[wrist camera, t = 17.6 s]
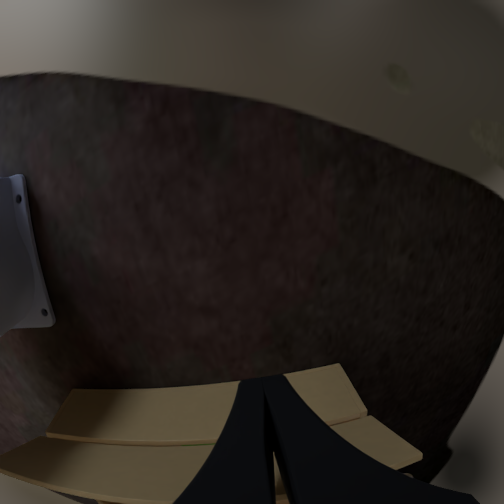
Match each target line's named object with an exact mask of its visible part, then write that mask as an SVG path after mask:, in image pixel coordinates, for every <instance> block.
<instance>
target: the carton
mask: <svg viewBox="0 0 504 504" xmlns="http://www.w3.org/2000/svg"><path fill="white" fill-rule="evenodd" d="M283 375H284V376H286V378H287V379H288V381H289V382H290V384H291V385H292V387H293V388H294V389H295V391H296V392H297V393H298V394H299V396H300V397H301V398H302V399H303V400H304V402H305V403H306V404H307V405H308V406H309V407H310V408H311V409H312V410H313V411H314V412H315V413H316V414H317V415H318V416H319V417H320V418H321V419H322V420H323V421H324V422H325V423H326V424H327V425H328V426H333V425H337V424H341V423H345V422H349V421H353V420H356V419H360V418H363V417H367V409H366V407H365V405H364V404H363V402H362V400H361V399H360V397H359V395H358V394H357V392H356V390H355V389H354V387H353V385H352V383H351V382H350V380H349V378H348V377H347V375H346V373H345V372H344V370H343V368H342V367H341V365H340V363H337V364H333V365H328V366H324V367H319V368H314V369H309V370H304V371H299V372H293V373H288V374H283ZM239 382H240V381H234V382H226V383H217V384H208V385H197V386H185V387H170V388H151V389H72V390H71V392H70V393H69V395H68V396H67V398H66V399H65V401H64V403H63V404H62V406H61V407H60V409H59V410H58V412H57V413H56V415H55V417H54V418H53V420H52V421H51V423H50V425H49V426H48V428H47V429H46V431H45V433H46V434H47V436H48V437H50V438H56V439H63V440H70V441H77V442H86V443H95V444H107V445H122V446H151V447H169V446H181V445H196V444H212V443H216V442H217V440H218V438H219V436H220V434H221V432H222V430H223V428H224V426H225V423H226V421H227V418H228V416H229V414H230V411H231V409H232V406H233V403H234V400H235V397H236V393H237V389H238V383H239ZM95 500H96V501H97V502H98V503H99V504H124V503H116V502H109V501H103V500H97V499H95ZM276 504H289V501H288V499H287V500H280V501H276Z"/></svg>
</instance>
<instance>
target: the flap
mask: <svg viewBox="0 0 504 504" xmlns="http://www.w3.org/2000/svg"><path fill="white" fill-rule="evenodd" d="M329 427H331V428H332V429H333V430H334V431H335V432H336V433H338V434H339V435H340V436H341V437H343V438H344V439H345V440H347V441H348V442H349V443H351V444H352V445H353V446H355V447H356V448H358V449H359V450H361V451H362V452H364V453H365V454H367V455H369V456H370V457H372V458H374V459H375V460H377V461H379V462H380V463H382V464H384V465H386V466H388V467H390V468H393V469H395V470H397V469H400V468H402V467H405V466H407V465H410V464H412V463H415V462H417V461H419V460H422V455H423V454H422V452H420V451H419V450H417V449H416V448H415V447H413V446H412V445H410V444H409V443H408V442H406V441H405V440H404V439H402V438H401V437H399V436H398V435H397V434H395V433H394V432H393V431H391V430H390V429H389V428H387V427H386V426H385V425H383V424H382V423H381V422H379V421H378V420H377V419H375V418H374V417H373V416H371V415H370V416H367V417H363V418H360V419H356V420H353V421H349V422H345V423H341V424H337V425H333V426H329ZM214 445H215V444H214ZM214 445H199V446H169V447H151V446H122V445H107V444H95V443H86V442H77V441H70V440H63V439H56V438H50V437H45V436H39V437H37V438H35V439H33V440H31V441H29V442H27V443H25V444H23V445H21V446H19V447H17V448H15V449H13V450H11V451H8V452H6V453H4V454H2V455H0V473H3V474H5V475H8V476H10V477H13V478H16V479H19V480H22V481H25V482H28V483H31V484H34V485H38V486H41V487H44V488H48V489H51V490H55V491H59V492H63V493H67V494H72V495H76V496H81V497H86V498H91V499H97V500H103V501H109V502H116V503H124V504H172V503H173V502H174V501H175V500H176V499H177V498H178V497H179V496H180V494H181V493H182V492H183V491H184V490H185V488H186V487H187V486H188V485H189V483H190V482H191V481H192V480H193V478H194V477H195V476H196V474H197V473H198V471H199V470H200V468H201V467H202V465H203V464H204V462H205V461H206V459H207V458H208V456H209V454H210V453H211V451H212V449H213V447H214ZM273 455H274V452H273ZM274 473H275V491H276V501H280V500H287V499H288V498H287V495H286V492H285V488H284V485H283V482H282V478H281V475H280V472H279V469H278V465H277V462H276V458H275V455H274Z"/></svg>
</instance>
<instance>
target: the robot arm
mask: <svg viewBox="0 0 504 504" xmlns="http://www.w3.org/2000/svg"><path fill="white" fill-rule="evenodd" d="M20 196H21V197H22V201H21V202H20ZM44 309H46V310H47V312H48V314H47V313H46V312H45V311H44ZM55 321H56V319H55V315H54V312H53V309H52V306H51V302H50V299H49V296H48V292H47V288H46V285H45V281H44V277H43V273H42V270H41V265H40V261H39V257H38V252H37V248H36V243H35V238H34V233H33V227H32V222H31V216H30V209H29V203H28V195H27V187H26V179H25V177H24V175H22V174H17V175H14V176H11V177H2V178H0V337H1V336H2V335H3V334H5V333H6V332H7V331H8V330H10V329H14V328H39V327H51V326H53V325H54V324H55ZM273 452H274V455H275V458H276V462H277V465H278V469H279V472H280V475H281V478H282V482H283V485H284V488H285V492H286V495H287V498H288V501H289V504H480V503H479V502H478V501H477V500H476V499H475V498H474V497H473V496H472V495H471V494H466V493H462V492H457V491H453V490H449V489H444V488H441V487H437V486H434V485H431V484H428V483H425V482H423V481H420V480H417V479H415V478H412V477H409V476H407V475H405V474H403V473H401V472H399V471H397V470H395V469H393V468H390V467H388V466H386V465H384V464H382V463H380V462H379V461H377V460H375V459H374V458H372V457H370V456H369V455H367V454H365V453H364V452H362V451H361V450H359V449H358V448H356V447H355V446H353V445H352V444H351V443H349V442H348V441H347V440H345V439H344V438H343V437H341V436H340V435H339V434H338V433H336V432H335V431H334V430H333V429H332V428H331V427H329V426H328V425H327V424H326V423H325V422H324V421H323V420H322V419H321V418H320V417H319V416H318V415H317V414H316V413H315V412H314V411H313V410H312V409H311V408H310V407H309V406H308V405H307V404H306V403H305V402H304V400H303V399H302V398H301V397H300V396H299V394H298V393H297V392H296V391H295V389H294V388H293V387H292V385H291V384H290V382H289V381H288V379H287V378H286V376H284V375H283V374H280V375H274V376H268V377H261V378H254V379H247V380H241V381H240V382H239V383H238V389H237V393H236V397H235V400H234V403H233V406H232V409H231V411H230V414H229V416H228V418H227V421H226V423H225V426H224V428H223V430H222V432H221V434H220V436H219V438H218V440H217V442H216V443H215V445H214V447H213V449H212V451H211V453H210V454H209V456H208V458H207V459H206V461H205V462H204V464H203V465H202V467H201V468H200V470H199V471H198V473H197V474H196V476H195V477H194V478H193V480H192V481H191V482H190V483H189V485H188V486H187V487H186V488H185V490H184V491H183V492H182V493H181V494H180V496H179V497H178V498H177V499H176V500H175V501H174V502H173V503H172V504H276V491H275V473H274V455H273Z"/></svg>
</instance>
